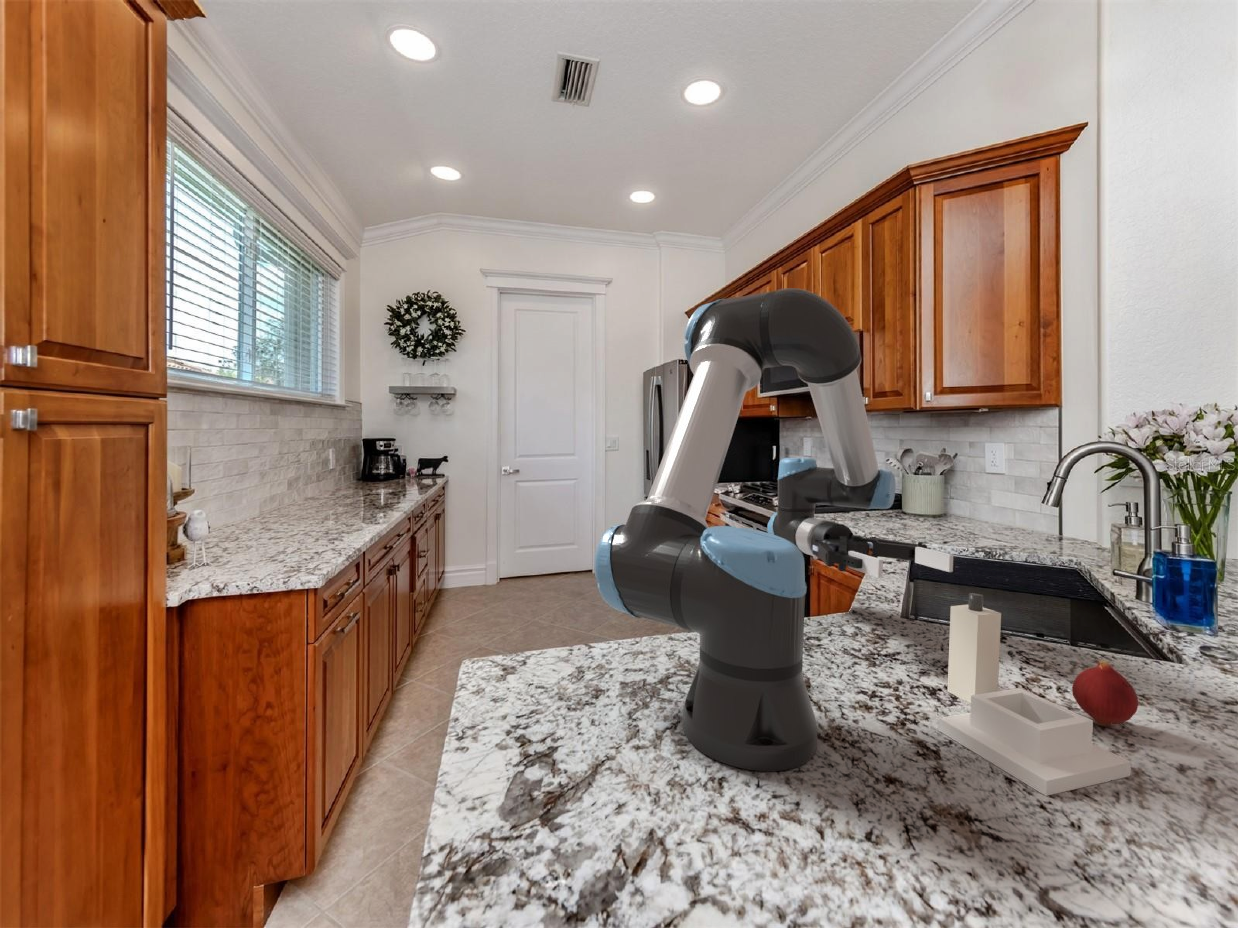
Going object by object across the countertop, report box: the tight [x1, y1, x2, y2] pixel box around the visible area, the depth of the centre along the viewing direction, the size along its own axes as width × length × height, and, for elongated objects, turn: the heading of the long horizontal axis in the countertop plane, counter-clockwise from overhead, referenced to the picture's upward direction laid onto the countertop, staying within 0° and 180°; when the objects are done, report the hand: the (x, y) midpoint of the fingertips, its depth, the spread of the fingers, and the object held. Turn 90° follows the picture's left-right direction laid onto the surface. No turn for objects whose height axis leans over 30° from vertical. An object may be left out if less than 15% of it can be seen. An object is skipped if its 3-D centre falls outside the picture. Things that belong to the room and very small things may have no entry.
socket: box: [937, 687, 1132, 797], centre depth 57 cm, size 12×12×5 cm
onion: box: [1071, 660, 1139, 727], centre depth 63 cm, size 6×6×8 cm
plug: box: [946, 592, 1002, 705], centre depth 70 cm, size 4×4×14 cm
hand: (917, 566), depth 79 cm, fingers open, 13 cm apart
